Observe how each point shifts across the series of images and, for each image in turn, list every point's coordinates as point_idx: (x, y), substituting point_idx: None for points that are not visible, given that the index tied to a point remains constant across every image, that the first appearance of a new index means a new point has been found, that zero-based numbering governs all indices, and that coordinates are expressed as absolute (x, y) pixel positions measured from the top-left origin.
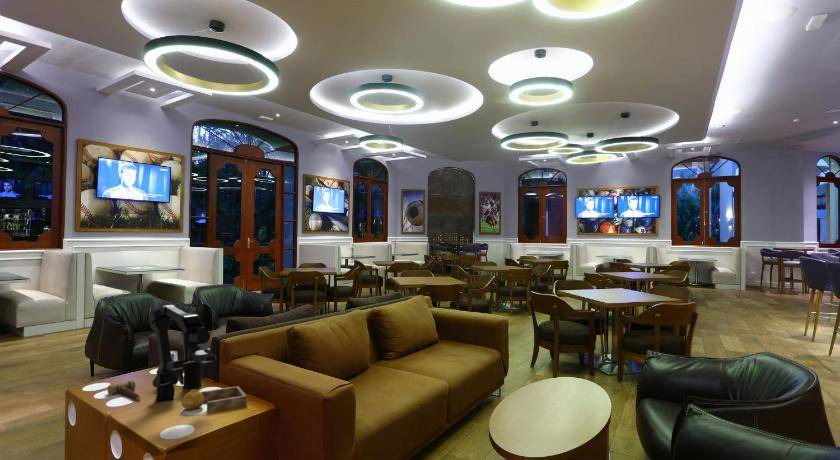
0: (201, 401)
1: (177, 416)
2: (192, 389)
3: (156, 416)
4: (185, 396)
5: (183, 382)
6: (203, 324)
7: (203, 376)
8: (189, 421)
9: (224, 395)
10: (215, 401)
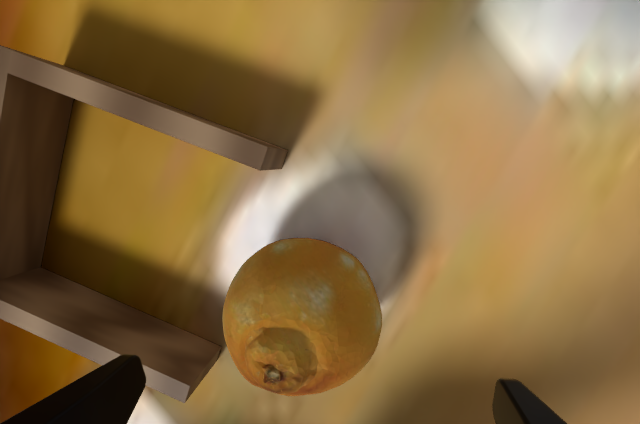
0: (272, 243)
1: (454, 234)
2: (280, 384)
3: (539, 341)
4: (362, 348)
5: (518, 406)
6: None
7: (101, 395)
8: (455, 83)
9: (88, 299)
10: (212, 125)
